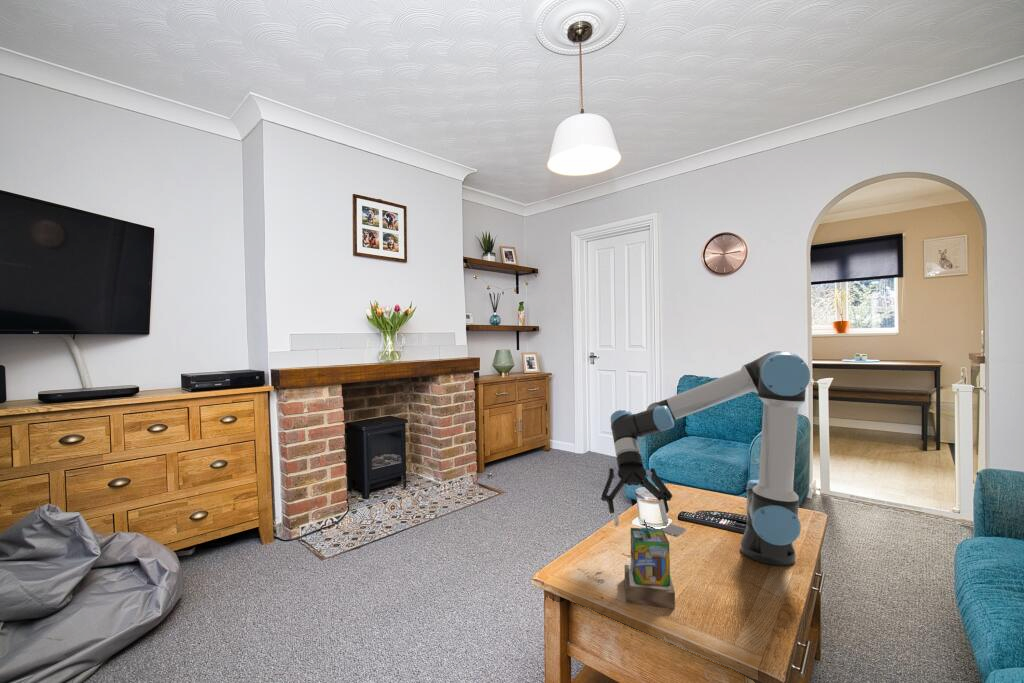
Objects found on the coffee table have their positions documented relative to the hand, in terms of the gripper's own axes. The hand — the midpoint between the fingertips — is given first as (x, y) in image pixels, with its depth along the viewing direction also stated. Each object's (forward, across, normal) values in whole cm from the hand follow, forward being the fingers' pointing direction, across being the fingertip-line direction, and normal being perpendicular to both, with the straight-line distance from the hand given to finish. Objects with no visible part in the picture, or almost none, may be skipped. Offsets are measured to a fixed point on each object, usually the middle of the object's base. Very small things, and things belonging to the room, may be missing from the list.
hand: (641, 524), depth 125 cm
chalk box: (+12, -1, -6) cm, 13 cm away
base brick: (+15, -1, -9) cm, 17 cm away
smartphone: (-14, -18, -40) cm, 46 cm away
